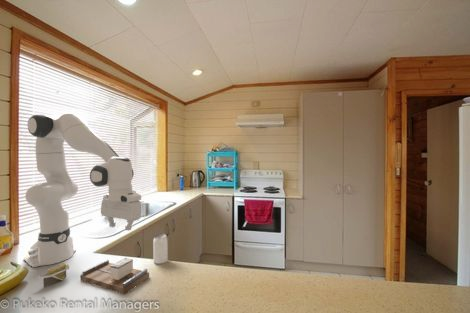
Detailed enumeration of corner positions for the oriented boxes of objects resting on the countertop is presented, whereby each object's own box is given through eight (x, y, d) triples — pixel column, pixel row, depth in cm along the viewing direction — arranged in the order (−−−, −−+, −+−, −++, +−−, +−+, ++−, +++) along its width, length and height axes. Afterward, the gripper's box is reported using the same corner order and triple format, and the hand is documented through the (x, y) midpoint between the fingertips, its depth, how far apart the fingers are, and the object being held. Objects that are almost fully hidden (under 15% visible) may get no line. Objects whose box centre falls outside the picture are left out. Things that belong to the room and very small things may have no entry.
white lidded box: (110, 278, 86) (110, 265, 86) (125, 269, 93) (125, 257, 93) (118, 280, 85) (117, 267, 85) (133, 271, 91) (132, 259, 91)
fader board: (80, 280, 90) (80, 271, 90) (107, 266, 101) (107, 258, 101) (124, 294, 80) (124, 284, 80) (149, 277, 91) (149, 268, 91)
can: (163, 265, 101) (162, 239, 101) (150, 263, 103) (150, 238, 103) (170, 258, 108) (169, 234, 108) (158, 257, 109) (157, 233, 109)
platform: (88, 274, 95) (88, 259, 95) (37, 300, 78) (37, 282, 78) (71, 269, 99) (71, 255, 99) (20, 292, 83) (19, 275, 83)
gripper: (96, 194, 93) (96, 227, 93) (131, 198, 85) (131, 234, 85) (110, 192, 98) (110, 223, 98) (144, 196, 90) (144, 229, 90)
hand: (120, 228), depth 91 cm, fingers open, 8 cm apart
